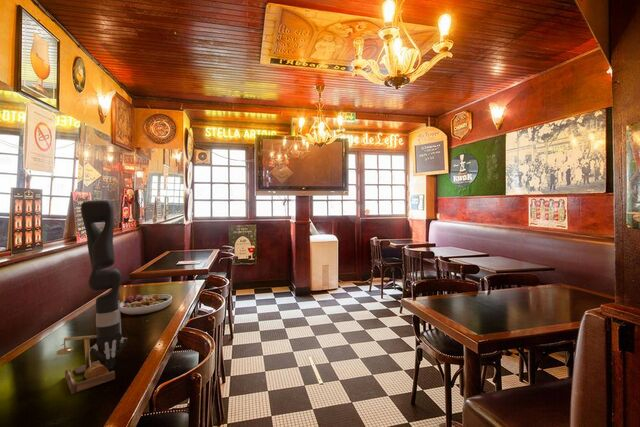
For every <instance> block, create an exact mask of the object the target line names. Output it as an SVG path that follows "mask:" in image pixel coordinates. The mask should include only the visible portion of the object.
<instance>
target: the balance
mask: <svg viewBox="0 0 640 427" xmlns="http://www.w3.org/2000/svg"><path fill="white" fill-rule="evenodd" d="M90 339H97V334H96V335H94V334H93V335H83V336H70V337H64V338H63V348H61V349H58V350H57V351H56V353H55V354H56V355H57V356H60V355H61V356H62V355H66V354H70V353H72V352H73V351H74V347H71V346H70V347H69V346H68V347H66V341H68V342H69V341H77V340H78V341H79V340H83V342H84V343H83V344H84V359H85V360H84V361H85V364H82V365H80V366H75V367H74V369H73V370H74V372H75V375H76V376H80V375H84V373H85V371H86V370H87V368H89V367H90V366H92V365H95V364H98V365H103V364H102V363H101V362H100V360H96V361H92V360H91V351H90V350H89V348H90V347H91V346H90V342H91V341H90Z"/></svg>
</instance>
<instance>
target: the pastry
mask: <svg viewBox="0 0 640 427" xmlns="http://www.w3.org/2000/svg"><path fill="white" fill-rule="evenodd" d="M108 372H110V371H109V368H108V367H107V366H106V365H105V364H102V365H98V364H95V365H92V366H90V367H89V368H87V370H86V371H85V373H84V374H83V376H84V378H85V380H87V379H90V378H93V377H96V376H99V375H102V374H105V373H108Z"/></svg>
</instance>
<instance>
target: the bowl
mask: <svg viewBox="0 0 640 427" xmlns="http://www.w3.org/2000/svg"><path fill="white" fill-rule="evenodd" d="M172 301H173V296H172V295H170V294H165V293H161V294H160V293H159V294H158V293H154V294H146V295H141V294H136V295H135V296H134V295H128V296H126V297H125V299H124V300H123V301H121V302H120V313H123V314H126V315H143V314H149V313H154V312H157V311H161V310H163V309H165V308H167V307H168V306H169V305H171V303H172Z"/></svg>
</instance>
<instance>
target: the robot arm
mask: <svg viewBox="0 0 640 427" xmlns="http://www.w3.org/2000/svg"><path fill="white" fill-rule="evenodd" d="M80 213H81V218H82V222H83V226H84V229H85V235H86V242H87V250H88V255H89V260H90V265H91V272H90V275H89V278H88V286H89V288H90V290H92V291H94V292H95V291H96V292H97V291H102V290H109V289H110V290H109V291H108V292H107V291H106V292H105V293H104V294H101V295H99V296H98V297H96V299H95V310H96V311H95V312H96V316H95V325H96V326H95V327H96V329H95V330H96V335H97V338H96V340H95V344H94V345H92V346H90V348H89V350H90V353H91V354H93V355H94V356H96V357H98V358H99V359H101V360H104V359H105V367H107V369H112V368H114V366H115V364H116V356H117V355H120V354H121V353H122V351H123V349H124V348H125V347H126V345H127V344H128V343H129V339H128V337H123V334H122V320H121V319H122V318H121V311H120V303H121V302H120V301H121V300H120V286H121V283H122V280H123V275H122V272H121V271H120V270H119V269H118V268H116V267H115V268H109V267H112V266H113V265H114V264H115V253H114V252H115V251H114V230H115V229H114V222H115V219H114V218H115V214H114V207H113V203H112V201H110V200H109V199H108V200H107V199H103V200H102V199H101V200H87V201H86V200H85V201H83V202H81V205H80ZM96 223H97V224H98V223H104V227H103V228H102V230H101V229H100V228H98V226H97V225H96ZM98 347H99V348H98ZM99 349H101V350H103V352H104V353H101V352H100V351H99Z"/></svg>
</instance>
